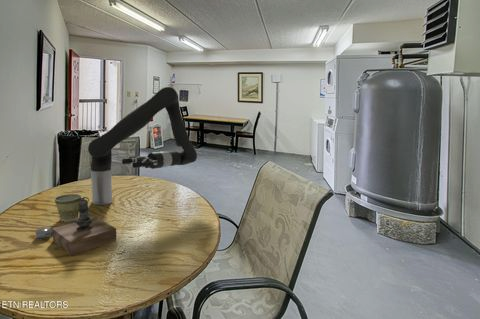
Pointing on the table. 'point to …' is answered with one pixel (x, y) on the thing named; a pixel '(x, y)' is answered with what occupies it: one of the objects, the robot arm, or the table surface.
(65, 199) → the ceramic cup
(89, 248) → the walnut stand
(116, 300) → the table surface
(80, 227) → the salt shaker
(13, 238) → the table surface
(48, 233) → the grey metal puck
